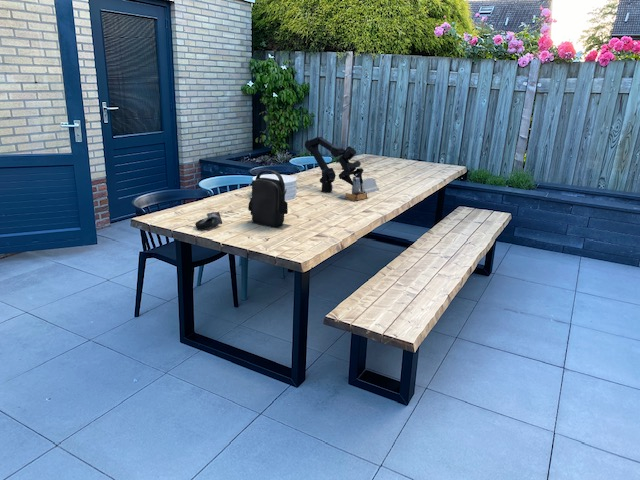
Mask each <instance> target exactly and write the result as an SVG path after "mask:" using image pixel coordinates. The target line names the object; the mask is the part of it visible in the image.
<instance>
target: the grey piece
mask: <svg viewBox="0 0 640 480" xmlns="http://www.w3.org/2000/svg"><path fill="white" fill-rule="evenodd" d="M352 182H353V184H354V185H353V186H352V185H351V194H354V195H359V192H360V189H359V183H360V177H355V176H352Z"/></svg>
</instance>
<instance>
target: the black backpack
mask: <svg viewBox="0 0 640 480" xmlns="http://www.w3.org/2000/svg"><path fill="white" fill-rule="evenodd" d="M267 172H270V173H271V174H275V175H276V176H277V177H278V179H279V180H275V179H270V178H260V176H261V175H264V173H267ZM281 175H282V174H280V173H279V172H278V171H276V170H275V169H274V170H272V169H264V170H262V171H260V172H259V173H258V174H257V175H256V176H257V177H256V180H255V181H254V180H253V181H251V197H250V198H249V200H250V201H249V202H248V207H247V208H248V211H249V212H250V215H251V220H248V221H246V222H247V223H251V224H255V225H258V226H259V225H260V226H263V227H264V226H265V227H268V228H269V227H270V228H272V229H273V228H274V229H277V230H278V229H279V230H285V229H287V228H290V227H292V226H293V225H292V224H286V223H284V222H285V215H287V214H288V213H289V212H288V209H289V207H288V202H287V200H286V201H285V194H286V191H287V189H286V191H285V184H284V181H283V178H282V176H281Z"/></svg>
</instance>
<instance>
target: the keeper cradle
mask: <svg viewBox="0 0 640 480" xmlns="http://www.w3.org/2000/svg"><path fill="white" fill-rule="evenodd" d="M338 198H339V199H343V200H346V201H350V202H359V201H363V200H368V199H369V197H368V193H365V192H360V191H359V195H354V194H352V193H349V192H345V195H341V196H338Z"/></svg>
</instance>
